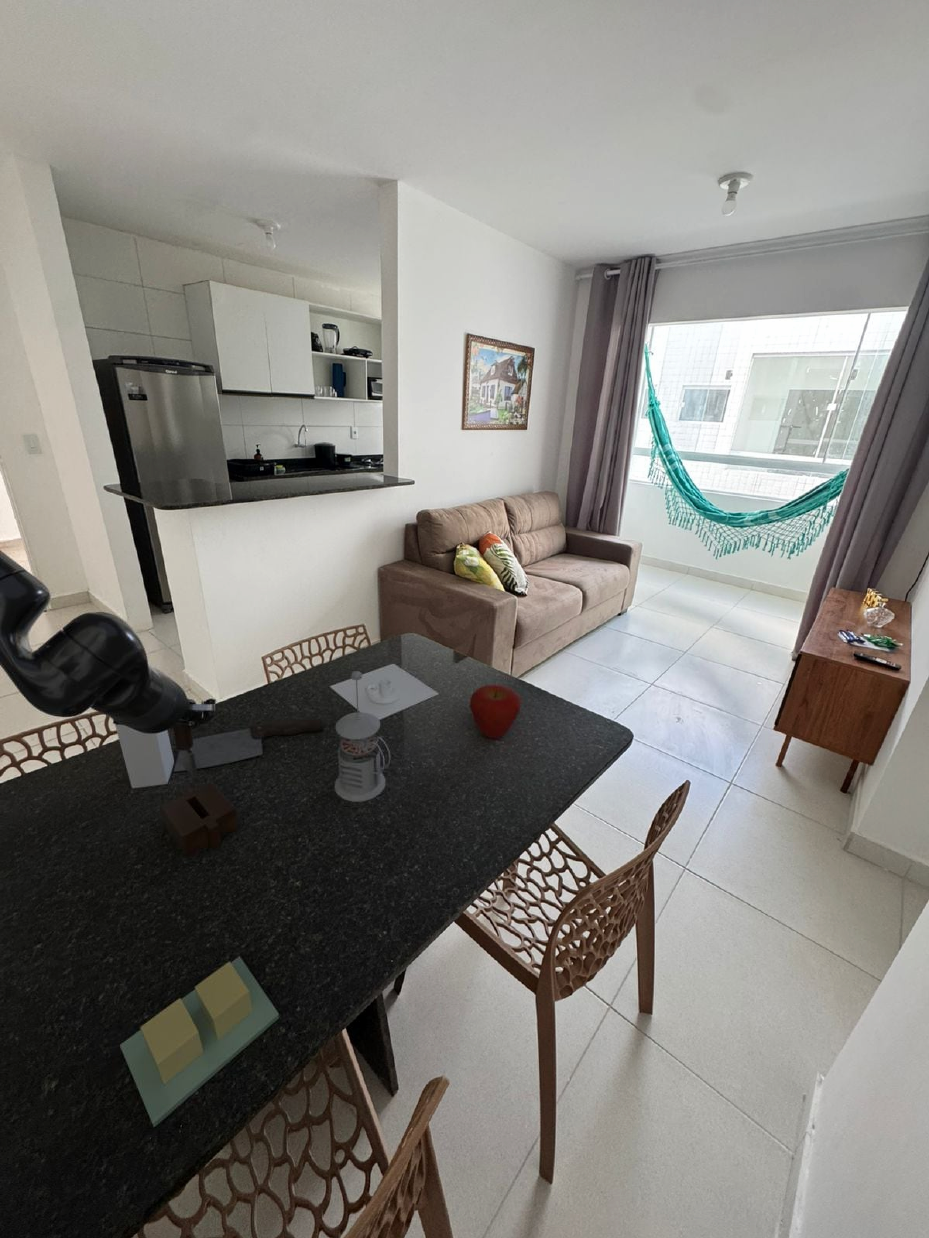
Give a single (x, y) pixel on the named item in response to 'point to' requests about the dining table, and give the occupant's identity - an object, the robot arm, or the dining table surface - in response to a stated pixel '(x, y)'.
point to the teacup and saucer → (384, 691)
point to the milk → (146, 756)
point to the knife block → (199, 818)
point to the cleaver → (243, 742)
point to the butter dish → (206, 1061)
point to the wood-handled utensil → (185, 748)
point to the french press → (359, 755)
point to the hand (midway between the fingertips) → (185, 722)
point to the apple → (494, 709)
